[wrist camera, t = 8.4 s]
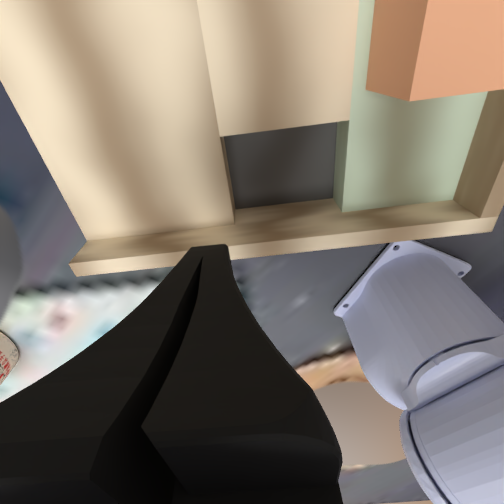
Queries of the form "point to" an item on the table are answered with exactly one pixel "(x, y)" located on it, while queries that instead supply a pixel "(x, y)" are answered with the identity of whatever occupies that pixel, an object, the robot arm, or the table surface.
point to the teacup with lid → (7, 356)
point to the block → (436, 48)
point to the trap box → (239, 130)
